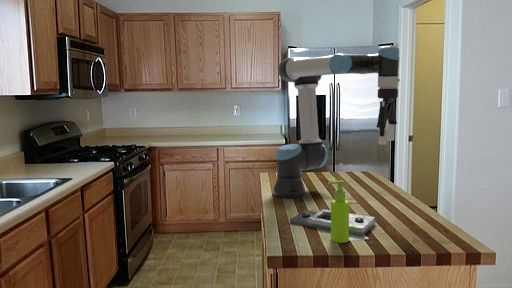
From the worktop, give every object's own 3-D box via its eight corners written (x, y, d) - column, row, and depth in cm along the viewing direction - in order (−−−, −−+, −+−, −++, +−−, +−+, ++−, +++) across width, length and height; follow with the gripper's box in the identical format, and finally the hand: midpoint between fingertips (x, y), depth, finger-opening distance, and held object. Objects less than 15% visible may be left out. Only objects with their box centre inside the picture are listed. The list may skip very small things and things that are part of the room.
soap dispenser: (325, 236, 138) (325, 179, 135) (345, 235, 138) (346, 178, 135) (330, 243, 132) (330, 183, 129) (351, 242, 132) (351, 182, 130)
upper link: (307, 226, 148) (307, 216, 148) (323, 216, 160) (323, 207, 159) (362, 236, 137) (362, 226, 137) (374, 224, 148) (374, 215, 148)
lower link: (289, 222, 153) (289, 217, 152) (305, 213, 164) (305, 208, 163) (341, 232, 141) (341, 226, 141) (355, 221, 152) (355, 215, 152)
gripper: (390, 88, 144) (388, 147, 147) (404, 87, 165) (403, 139, 168) (369, 88, 148) (368, 146, 151) (385, 87, 169) (384, 138, 172)
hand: (386, 142), depth 159 cm, fingers open, 13 cm apart
